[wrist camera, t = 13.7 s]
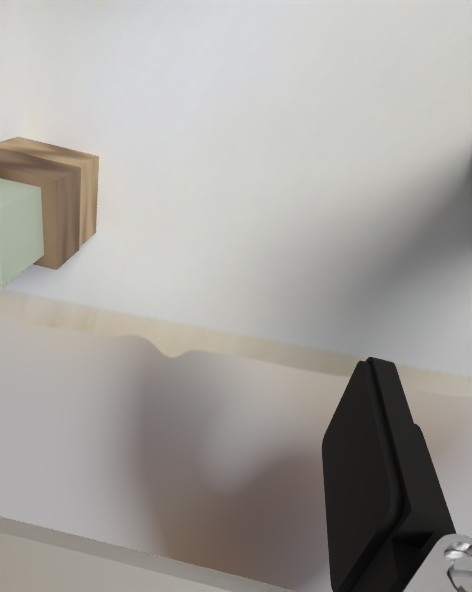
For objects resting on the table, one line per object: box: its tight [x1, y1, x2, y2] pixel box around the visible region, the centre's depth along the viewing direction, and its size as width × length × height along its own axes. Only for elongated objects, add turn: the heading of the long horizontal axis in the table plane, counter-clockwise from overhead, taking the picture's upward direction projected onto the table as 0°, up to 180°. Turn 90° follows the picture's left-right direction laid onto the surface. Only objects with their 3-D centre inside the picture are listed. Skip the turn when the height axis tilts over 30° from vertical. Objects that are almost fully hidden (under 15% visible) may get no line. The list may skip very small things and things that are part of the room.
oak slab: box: [0, 137, 99, 247], centre depth 41 cm, size 8×8×4 cm
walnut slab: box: [0, 148, 81, 270], centre depth 38 cm, size 8×8×4 cm
